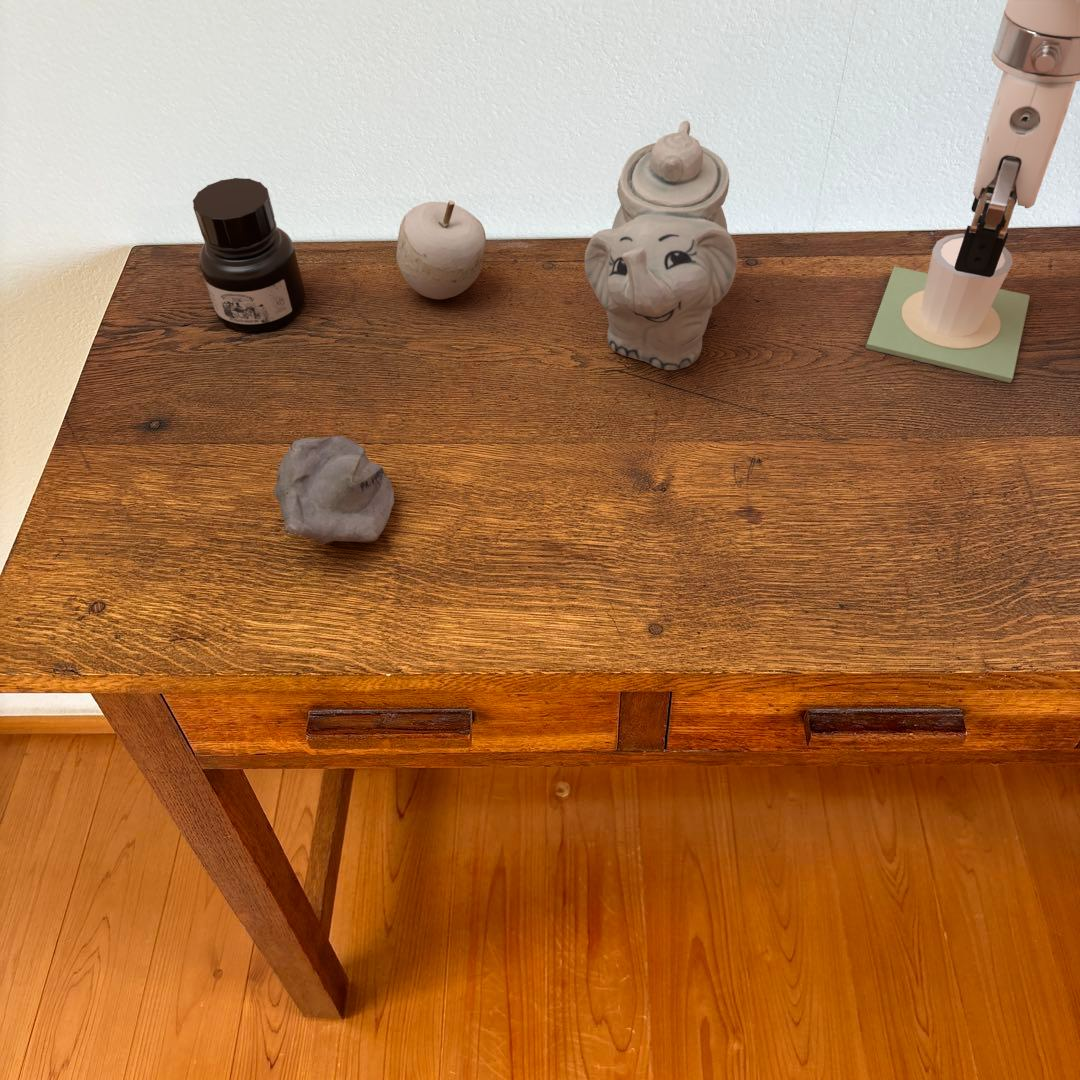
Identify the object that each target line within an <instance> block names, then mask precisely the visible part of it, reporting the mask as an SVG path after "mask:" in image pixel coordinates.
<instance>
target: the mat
mask: <svg viewBox="0 0 1080 1080" xmlns="http://www.w3.org/2000/svg"><path fill="white" fill-rule="evenodd" d="M927 275H928V272H924V271H918V270H914V269H910V268H904V267H900V266H896V265H895V266H893V268H892V271H891V274H890V276H889V279H888V282H887V285H886V288H885V291H884V293H883V296H882V299H881V302H880V306H879V307H878V311H877V313H876V316H875V319H874V322H873V325H872V326H871V327H872V328H871V330H870V333H869V335H868V339H867V342H866V345H865V349H866V350H871V351H874V352H879V353H883V354H887V355H890V356H891V355H892V356H894V357H895V356H896V357H899V358H904V359H908V360H911V361H915V362H921V363H925V364H928V365H933V366H937V367H940V368H946V369H950V370H954V371H958V372H962V373H966V374H970V375H975V376H978V377H984V378H987V379H992V380H996V381H1000V382H1004V383H1008V384H1011V383H1012V382H1013V379H1014V375H1015V370H1016V366H1017V360H1018V355H1019V351H1020V347H1021V341H1022V336H1023V332H1024V326H1025V321H1026V317H1027V312H1028V308H1029V303H1030V297H1031V296H1030V295H1029V294H1025V293H1021V292H1016V291H1012V290H1007V289H1002V288H1000V289H999V291H998V293H997V295H996V297H995V299H994V301H993V303H992V305H991V307H990V309H989V311H988V313H987V314H986V316H985V318H984V320H983V322H982V324H981V326H980V328H979V330H978V331H976V332H974V333H973V334H971V335H966V336H961V337H957V336H947V335H943V334H940V333H937V332H935V331H933V330H932V329H930V328H928V327H927V326H926V325H925V324H924V322H923V321H922V320H921V316H920V310H921V305H922V300H923V295H924V290H925V285H926V280H927Z"/></svg>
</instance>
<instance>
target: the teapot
mask: <svg viewBox="0 0 1080 1080" xmlns="http://www.w3.org/2000/svg"><path fill="white" fill-rule="evenodd" d="M690 133H691V123H690V121H689V120H683V121H682V122H680V124H679V127H678V131H677V132H673V133H669V134H666V135H663V136H661V137H660V138H659V139H658V140H657V141H656V142H654V143H651V144H648V145H645V146H643V147H641V148H639V149H637V150H636V151H634V152H633V153H632V154H631V155H630V156H629V157H628V158H627V160H626V162H625V164H624V165H623V167H622V170H621V173H620V176H619V180H618V182H617V189H616V193H617V197H618V201H619V204H620V206H619V208H618V210H617V213H616V214H615V217H614V220H613V224H612V226H611V228H606V229H602V230H599V231H597V232H595V233H594V234H592V236H591V237H590V239H589V241H588V243H587V245H586V248H585V252H584V271H585V275H586V278H587V280H588V283H589V285H590V286H591V288H592V290H593V292H594V294H595V296H596V298H597V300H598V301H599V303H600V305H601V306H602V308H603V309H605V310H606V318H607V322H608V328H607V333H606V339H607V342H608V346H609V347H610V348H611V350H612V351H613V352H615V353H616V354H618V355H621V356H623V357H628V358H632V359H635V360H638V361H641V362H645V363H647V364H650V365H652V366H653V367H655V368H658V369H662V370H666V371H677V370H681V369H683V368H687V367H689V366H691V365H692V364H693V363H695V362H696V361H697V360H698V358H699V357H700V355H701V353H702V349H703V336H704V334H705V333H706V330H707V326H708V323H709V319H710V318H711V316H712V312H713V308H715V306H717V305H718V304H719V303H720V302H721V301H722V300H723V298H724V297H725V296H726V295H727V294H728V293H729V291H730V289H731V287H732V285H733V283H734V279H735V276H736V272H737V267H738V252H737V245H736V242H735V240H734V239H733V237H732V235H731V234H730V232H729V231H728V223H727V218H726V216H725V212H724V210H723V207H722V206H723V205H724V204H725V202H726V198H727V196H728V193H729V188H730V172H729V169H728V166H727V165H726V163H725V162H724V161H723V159H722V157H720V156H719V155H717V154H716V153H715V152H713V151H712V150H711V149H709V148H707V147H705V146H702V145H701V144H700V142H699V140H698V139H697V138H695V137H693V136H692V135H691V134H690Z"/></svg>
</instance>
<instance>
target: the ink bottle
mask: <svg viewBox="0 0 1080 1080" xmlns="http://www.w3.org/2000/svg"><path fill="white" fill-rule="evenodd" d="M192 204H193V205H192V208H193V212H194V214H195V218H196V220H197V224H198V227H199V230H200V233H201V236H202V239H203V241H204V243H203V245H202V247H201V249H200V252H199V255H198V262H199V267H200V271H201V274H202V275H203V279H204V283H205V286H206V288H207V291H208V294H209V297H210V300H211V301H210V302H211V303H212V306H213V309H214V312H215V314H216V316H217V318H218V320H219V321H220V322H221V323H222V324H224V325H225V326H227V327H229V328H231V329H235V330H239V331H244V332H263V331H270V330H274V329H277V328H280V327H282V326H283V325H284V326H285V324H288V323H289V322H290V321H292V320H293V319H294V318H295V317H297V315H298V314H299V313H300V312H301V311H302V309H303V308H304V304H305V302H306V291H305V286H304V282H303V279H302V274H301V270H300V265H299V262H298V258H297V253H296V250H295V246H294V243H293V241H292V239H291V237H290V235H289V234H288V233H287V232H285V230H283V229H281V228H280V227H277V221H276V219H275V218H276V217H275V213H274V210H273V207H272V206H273V205H272V201H271V197H270V194H269V189H268V188H267V187H266V186H265V185H264V184H263V183H262V182H261V181H257V180H255V179H251V178H243V177H242V178H241V177H233V178H228V179H220V180H218V181H216V182H213V183H210V184H207V185H206V186H205V187H204V188H202V189H200V190H199V191H198V192H196V195H195V197H194V198H193V199H192Z"/></svg>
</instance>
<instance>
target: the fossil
mask: <svg viewBox="0 0 1080 1080" xmlns="http://www.w3.org/2000/svg"><path fill="white" fill-rule="evenodd" d="M273 496H274V497H275V499H276V500H277V501H278V502H279V507H280V512H281V516H282V519H283V522H284V532H285V533H286V534H288V533H289V534H290V535H291V536H296V537H299V536H300V537H304V538H307V539H309V540H314V541H317V542H319V544H322V545H323V544H328V543H332V542H352V543H353V542H357V543H367V542H375V541H377V540H378V539H379V537H380V536H381V534H382V532H383V531H384V530H385V528H386V525H387V523H388V521H389V518H390V515H391V512H392V509H393V506H394V504H395V491H394V487H393V485H392V482H391V480H390V479H389V477H388V475H387V474H386V472H385V470H384V467H383V466H382V465H380V464H378V463H374V462H372V461H371V460H369V458H368V456H367V453H366V448H365V447H362V446H361V445H360V444H359V443H358V442H356V441H354V440H351V439H350V438H348V437H345V436H343V435H337V436H336V435H335V436H330V435H329V436H326V437H321V438H315V437H314V438H313V437H302V438H300V439H296V440H294V441H293V442H292V444H291V445H290V447H289V448H288V449H287V451H286V453H285V455H284V456H283V458H282V459H281V461H280V465H279V468H278V470H277V473H276V484H275V486H274V488H273Z"/></svg>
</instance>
